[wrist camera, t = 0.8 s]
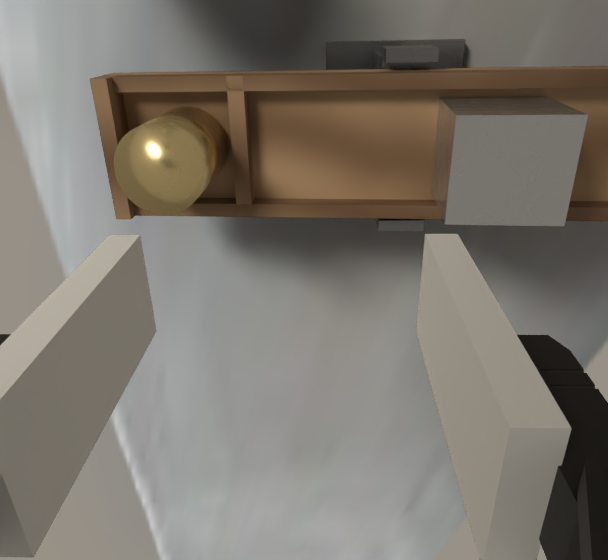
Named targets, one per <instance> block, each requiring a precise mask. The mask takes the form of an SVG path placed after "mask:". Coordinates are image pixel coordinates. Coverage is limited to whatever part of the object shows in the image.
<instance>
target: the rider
mask: <svg viewBox="0 0 608 560" xmlns="http://www.w3.org/2000/svg"><path fill="white" fill-rule="evenodd" d="M587 118H588V114H586V113H583V112H581V111H579V110H577V109H574V108H572V107H570V106H568V105H565V104H563V103H561V102H558V101H556V100H554V99H552V98H549V97H442V98H439V106H438V117H437V128H436V139H435V151H434V162H433V173H432V184H431V192H432V194H433V197H434V199H435V202H436V204H437V207H438V209H439V212H440V214H441V217H442V219H443V222H444V224H445V225H505V226H565V221H566V217H567V212H568V207H569V203H570V198H571V193H572V188H573V184H574V179H575V174H576V170H577V165H578V160H579V155H580V151H581V146H582V141H583V137H584V132H585V127H586V122H587Z"/></svg>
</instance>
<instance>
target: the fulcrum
mask: <svg viewBox="0 0 608 560" xmlns="http://www.w3.org/2000/svg"><path fill="white" fill-rule="evenodd" d="M464 47H465V40H464V39H446V40H398V41H351V42H326V70H357V69H429V68H462V66H463V57H464ZM376 223H377V227H378V231H424V219H388V218H376Z"/></svg>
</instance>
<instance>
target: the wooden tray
mask: <svg viewBox="0 0 608 560" xmlns="http://www.w3.org/2000/svg"><path fill="white" fill-rule="evenodd" d="M90 83H91V88H92V93H93V99H94V104H95V109H96V114H97V120H98V125H99V130H100V135H101V141H102V146H103V151H104V157H105V162H106V167H107V172H108V178H109V183H110V188H111V193H112V199H113V204H114V209H115V214H116V219H132V218H133V217H134V216H135V215H139V216H222V217H305V218H388V219H442V217H441V214H440V212H439V209H438V207H437V204H436V202H435V199H434V197H433V194H432V192H431V184H432V173H433V162H434V151H435V139H436V128H437V117H438V106H439V98H442V97H549V98H552V99H554V100H556V101H558V102H561V103H563V104H565V105H568V106H570V107H572V108H574V109H577V110H579V111H581V112H583V113H586V114H588V118H587V122H586V127H585V132H584V137H583V141H582V146H581V151H580V155H579V160H578V165H577V170H576V174H575V179H574V184H573V188H572V193H571V198H570V203H569V207H568V212H567V217H566V221H608V66H574V67H502V68H429V69H357V70H284V71H211V72H139V73H111V74H107V75H103V76H99V77H95V78H91V79H90ZM181 106H192V107H197V108H200V109H202V110H204V111H206V112H208V113H209V114H211V115H212V116H213V117H214V118H215V119H216V120H217V121H218V122H219V123H220V125H221V126H222V128H223V129H224V131H225V134H226V136H227V140H228V147H229V152H228V158H227V162H226V164H225V166H224V168H223V169H222V171H221V172H220V173H219V174H218V176H217V177H216V178H215V179H214V180H213V181H212V182H211V184H210V185H209V186H208V187H207V188H206V189H205V190H204V192H203V193H202V194H201V195H200V196H199V197H198V198H197V200H196V201H195V202H194V203H193V204H192V205H191V206H190V207H188V208H187V209H185V210H183V211H181V212H179V213H176V214H171V215H160V214H154V213H151V212H148V211H146V210H144V209H142V208H140V207H138V206H137V205H136V204H134V203H133V202H132V201H131V200H130V199H129V198H128V197H127V196H126V195H125V194H124V192H123V191H122V189H121V188H120V186H119V184H118V182H117V179H116V176H115V172H114V154H115V151H116V148H117V146H118V143H119V142H120V140H121V139H122V138H123V137H124V135H125V134H127V133H128V132H129V131H131V130H132V129H134V128H136V127H138V126H140V125H142V124H144V123H146V122H148V121H150V120H152V119H154V118H156V117H158V116H160V115H161V114H163V113H165V112H167V111H169V110H171V109H174V108H176V107H181Z"/></svg>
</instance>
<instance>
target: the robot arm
mask: <svg viewBox="0 0 608 560" xmlns="http://www.w3.org/2000/svg"><path fill="white" fill-rule="evenodd" d="M155 333H156V325H155V319H154V313H153V307H152V302H151V296H150V290H149V284H148V278H147V272H146V267H145V261H144V255H143V249H142V243H141V237H140V235H109V236H108V237H107V238H106V239H105V240H104V241H103V242H102V243H101V244H100V245H99V246H98V247H97V248H96V249H95V250H94V251H93V252H92V253H91V254H90V255H89V256H88V257H87V258H86V259H85V260H84V261H83V262H82V263H81V264H80V265H79V266H78V268H77V269H76V270H75V271H74V272H73V273H72V274H71V275H70V276H69V277H68V278H67V279H66V280H65V281H64V282H63V283H62V284H61V285H60V286H59V287H58V288H57V289H56V290H55V291H54V292H53V293H52V294H51V295H50V296H49V297H48V298H47V299H46V300H45V301H44V302H43V303H42V304H41V305H40V306H39V307H38V308H37V309H36V310H35V311H34V312H33V313H32V314H31V315H30V316H29V317H28V318H27V319H26V320H25V321H24V322H23V323H22V324H21V325H20V326H19V327H18V328H17V329H16V330H15V331H14V332H13V333H12V334H10V335H9V334H7V335H6V334H3V335H2V334H1V335H0V557H34V555H35V554H36V552H37V550H38V548H39V546H40V545H41V543H42V541H43V539H44V537H45V535H46V534H47V532H48V530H49V528H50V526H51V524H52V523H53V520H54V519H55V517H56V515H57V513H58V511H59V509H60V508H61V506H62V504H63V502H64V500H65V499H66V497H67V495H68V493H69V491H70V489H71V487H72V485H73V484H74V482H75V480H76V478H77V476H78V475H79V472H80V471H81V469H82V467H83V465H84V464H85V462H86V460H87V458H88V456H89V454H90V452H91V451H92V449H93V447H94V445H95V443H96V441H97V440H98V438H99V436H100V434H101V432H102V430H103V428H104V427H105V425H106V423H107V421H108V419H109V417H110V416H111V414H112V412H113V410H114V408H115V406H116V405H117V403H118V401H119V399H120V397H121V395H122V394H123V392H124V390H125V388H126V386H127V384H128V382H129V381H130V379H131V377H132V375H133V373H134V371H135V370H136V368H137V366H138V364H139V362H140V360H141V359H142V357H143V355H144V353H145V351H146V349H147V347H148V346H149V344H150V342H151V340H152V338H153V336H154V335H155ZM417 336H418V339H419V343H420V346H421V350H422V354H423V357H424V361H425V365H426V368H427V372H428V375H429V379H430V383H431V386H432V390H433V393H434V397H435V401H436V404H437V408H438V411H439V415H440V419H441V422H442V426H443V430H444V433H445V437H446V440H447V444H448V448H449V451H450V455H451V458H452V462H453V466H454V469H455V473H456V477H457V480H458V484H459V487H460V491H461V495H462V498H463V502H464V505H465V509H466V513H467V516H468V520H469V524H470V527H471V530H472V534H473V538H474V541H475V545H476V548H477V552H478V556H479V560H537V556H538V552H539V548H540V544H541V545H542V548H543V550H544V553H545V555H546V558H547V560H608V403H607V401H606V400H605V399H604V397H603V396H602V394H601V393H600V392H599V390H598V389H595V385H594V383H593V382H592V380H591V379H590V378H589V376H588V375H587V373H584V371H583V370H584V369H583V368H582V366H581V365H580V364H579V362H578V361H577V360H576V358H575V357H574V355H573V354H572V353H571V351H570V350H568V349H567V348H565V347H564V346H563V345H561V344H560V343H558V342H557V341H555V340H554V339H553V338H551V337H550V336H548V335H517V334H516V333H515V331H514V329H513V328H512V326H511V324H510V322H509V321H508V319H507V317H506V316H505V314H504V312H503V310H502V309H501V307H500V305H499V304H498V302H497V300H496V299H495V297H494V295H493V293H492V292H491V290H490V288H489V287H488V285H487V283H486V282H485V280H484V278H483V276H482V275H481V273H480V271H479V270H478V268H477V266H476V264H475V263H474V261H473V259H472V258H471V256H470V254H469V253H468V251H467V249H466V247H465V246H464V244H463V242H462V241H461V239H460V237H459V235H458V234H425V240H424V252H423V263H422V275H421V286H420V298H419V309H418V321H417Z"/></svg>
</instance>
